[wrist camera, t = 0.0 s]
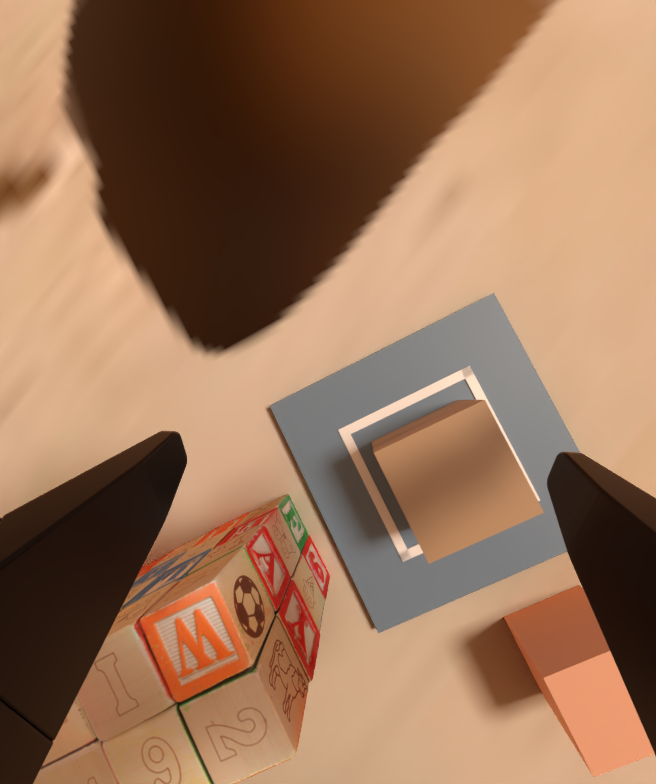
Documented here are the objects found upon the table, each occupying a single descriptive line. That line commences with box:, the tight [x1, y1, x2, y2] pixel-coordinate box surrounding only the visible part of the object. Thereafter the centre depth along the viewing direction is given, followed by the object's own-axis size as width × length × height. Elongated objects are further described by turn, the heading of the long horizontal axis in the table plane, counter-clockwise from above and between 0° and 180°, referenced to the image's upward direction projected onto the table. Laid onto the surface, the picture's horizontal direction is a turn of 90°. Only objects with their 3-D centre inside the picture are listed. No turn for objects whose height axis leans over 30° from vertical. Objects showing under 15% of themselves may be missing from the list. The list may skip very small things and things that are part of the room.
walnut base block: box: [372, 400, 544, 564], centre depth 20 cm, size 6×6×5 cm
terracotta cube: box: [504, 585, 655, 777], centre depth 19 cm, size 5×5×5 cm
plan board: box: [270, 293, 580, 633], centre depth 22 cm, size 16×16×1 cm
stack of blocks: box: [33, 494, 330, 784], centre depth 18 cm, size 21×6×12 cm, turn 118°
